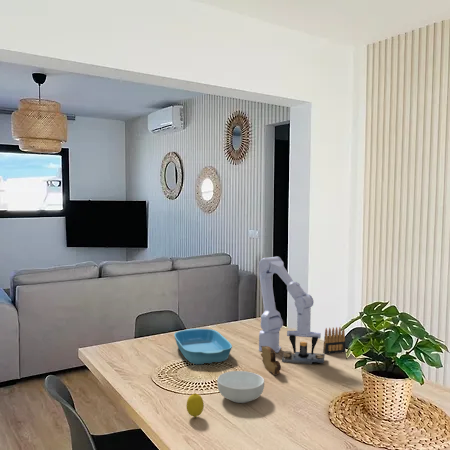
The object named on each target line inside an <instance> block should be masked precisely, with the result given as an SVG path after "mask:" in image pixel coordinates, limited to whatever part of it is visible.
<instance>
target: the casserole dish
mask: <svg viewBox="0 0 450 450" xmlns="http://www.w3.org/2000/svg"><path fill="white" fill-rule="evenodd" d="M173 337H174V340H175V343H176V345H177V348H178V349H179V351H180V352H181V354H182V355H183V357H184V358H185V359H186V361H188V362H189V363H191V364H192V363H194V364H193V365H205V364H204V363H209V364H213V363H212V362H218V363H221V362H222V361H223V362H224V361H227V360H228V358H229V357H230V353H231V351H232V349H233V345H232V344H231V342H230V341H229V340H228V339H227V338H226V337H225V336H223V335H222V334H221V333H220V332H219V331H217V330H215V329H210V328H196V327H195V328H187V329H184V330H183V329H182V330H179V331H176V332H175V333H174V334H173Z"/></svg>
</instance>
